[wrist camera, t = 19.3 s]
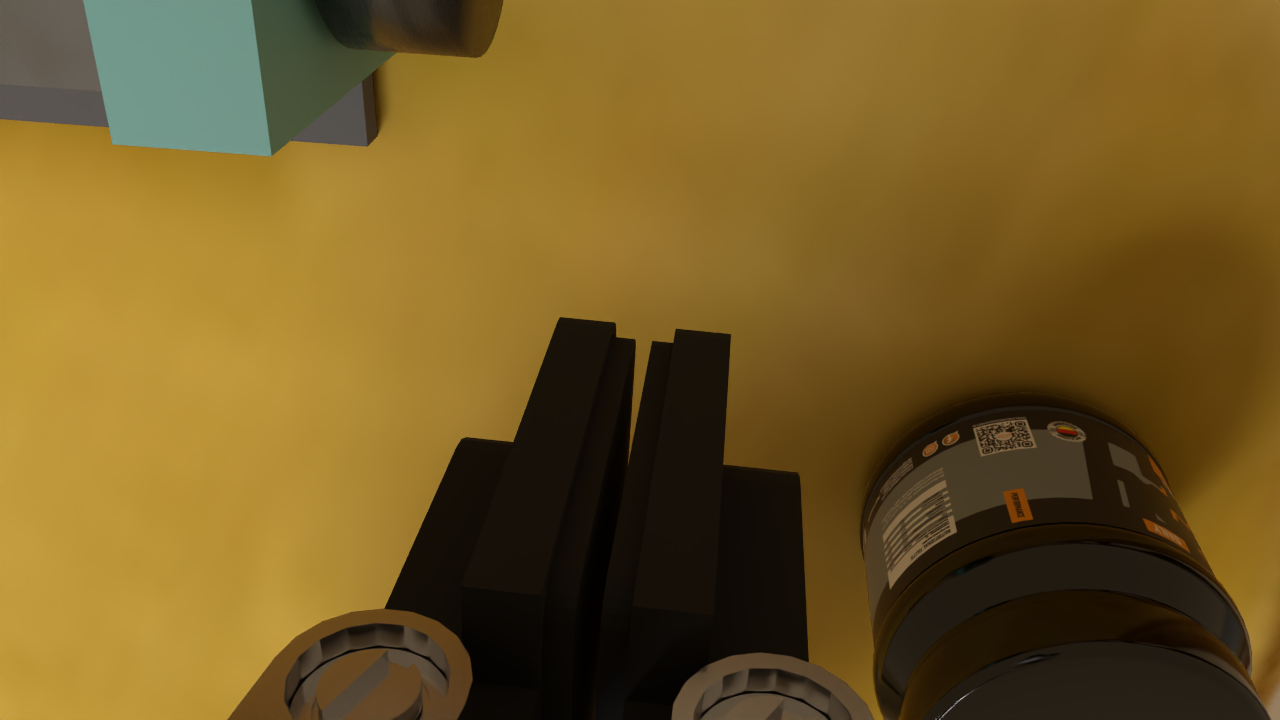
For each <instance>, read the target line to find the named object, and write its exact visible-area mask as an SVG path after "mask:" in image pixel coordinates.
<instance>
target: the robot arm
mask: <svg viewBox="0 0 1280 720" xmlns="http://www.w3.org/2000/svg"><path fill="white" fill-rule="evenodd" d="M730 342H731V334H723V333H713V332H703V331H693V330H683V329H676V331H675V337H674V343H667V342H657V341H652V346H651V351H650V356H649V361H648V366H647V371H646V377H645V382H644V387H643V392H642V397H641V402H640V408H639V413H638V418H637V423H636V428H635V433H634V439H633V444H632V449H631V454H630V459H629V464H628V457H629V442H630V427H631V412H632V396H633V381H634V366H635V349H636V341H635V339H628V338H618V337H616V324H615V323H613V322H603V321H593V320H583V319H573V318H563V317H560V318H559V320H558V322H557V325H556V327H555V330H554V333H553V336H552V338H551V341H550V344H549V346H548V349H547V352H546V355H545V357H544V360H543V363H542V366H541V368H540V371H539V374H538V376H537V379H536V382H535V385H534V387H533V390H532V393H531V396H530V398H529V401H528V404H527V406H526V409H525V412H524V415H523V417H522V420H521V423H520V426H519V428H518V431H517V434H516V436H515V439H514V442H506V441H497V440H487V439H478V438H469V437H465V438H463V439H461V441H460V442H459V444H458V446H457V447H456V449H455V452H454V454H453V456H452V458H451V461H450V463H449V465H448V467H447V470H446V472H445V474H444V476H443V479H442V481H441V483H440V485H439V488H438V490H437V492H436V494H435V497H434V499H433V501H432V503H431V505H430V508H429V510H428V512H427V514H426V517H425V519H424V521H423V523H422V526H421V528H420V530H419V532H418V535H417V537H416V539H415V541H414V544H413V546H412V548H411V550H410V553H409V555H408V557H407V559H406V562H405V564H404V566H403V568H402V571H401V573H400V575H399V577H398V580H397V582H396V584H395V586H394V588H393V591H392V593H391V595H390V597H389V600H388V602H387V604H386V606H385V609H375V610H366V611H356V612H350V613H347V614H344V615H341V616H338V617H335V618H332V619H329V620H325V621H322V622H321V623H319V624H317V625H315V626H314V627H312V628H310V629H309V630H307V631H305V632H303V633H302V634H300V635H298V636H296V637H295V638H294V639H293V640H292V641H291V642H290V643H289V644H288V645H287V646H286V647H285V648H284V649H283V650H282V651H281V652H280V653H279V654H278V655H277V656H276V657H275V658H274V659H273V661H272V662H271V663H270V665H269V666H268V667H267V668H266V670H265V671H264V672H263V674H262V675H261V676H260V678H259V679H258V680H257V682H256V683H255V684H254V685H253V687H252V688H251V689H250V691H249V692H248V693H247V695H246V696H245V697H244V699H243V700H242V701H241V702H240V704H239V705H238V706H237V708H236V709H235V710H234V712H233V713H232V714H231V716H230V717H229V718H228V719H227V720H874V718H873V716H872V714H871V712H870V710H869V708H868V706H867V704H866V703H865V702H864V701H863V700H862V699H861V698H860V697H859V696H858V695H857V694H856V693H855V692H854V691H853V690H852V689H851V687H850V686H849V685H848V684H847V683H845V682H844V681H842V680H841V679H839V678H837V677H836V676H834V675H833V674H831V673H830V672H828V671H826V670H825V669H823V668H822V667H820V666H817V665H814V664H811V663H809V658H808V637H807V615H806V594H805V572H804V551H803V529H802V507H801V486H800V476H799V474H798V473H796V472H787V471H778V470H768V469H759V468H750V467H740V466H731V465H723V457H724V441H725V424H726V408H727V392H728V375H729V359H730Z"/></svg>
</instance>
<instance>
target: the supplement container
mask: <svg viewBox="0 0 1280 720" xmlns="http://www.w3.org/2000/svg"><path fill="white" fill-rule="evenodd" d="M859 534H860V545H861V550H862V555H863V559H864V562H865V569H866V578H867V587H868V596H869V605H870V614H871V623H872V632H873V641H874V654H873V681H874V690H875V695H876V699H877V703H878V707H879V709H880V712H881V714H882V717H883V719H884V720H1271V718H1270V716H1269V714H1268V712H1267V710H1266V708H1265V706H1264V704H1263V702H1262V700H1261V698H1260V696H1259V694H1258V692H1257V690H1256V688H1255V686H1254V684H1253V682H1252V680H1251V673H1252V651H1251V645H1250V639H1249V635H1248V632H1247V629H1246V626H1245V623H1244V620H1243V618H1242V616H1241V614H1240V612H1239V610H1238V609H1237V607H1236V605H1235V603H1234V601H1233V599H1232V598H1231V596H1230V595H1229V594H1228V592H1227V591H1226V589H1225V588H1224V587H1223V585H1222V584H1221V583H1220V582H1219V581H1218V580H1217V579H1216V577H1215V575H1214V573H1213V572H1212V570H1211V568H1210V566H1209V564H1208V562H1207V560H1206V558H1205V556H1204V554H1203V552H1202V550H1201V548H1200V547H1199V545H1198V543H1197V541H1196V539H1195V537H1194V535H1193V533H1192V531H1191V529H1190V527H1189V525H1188V523H1187V522H1186V520H1185V518H1184V516H1183V514H1182V512H1181V510H1180V508H1179V506H1178V504H1177V502H1176V500H1175V498H1174V496H1173V495H1172V492H1171V489H1170V486H1169V483H1168V480H1167V477H1166V475H1165V473H1164V472H1163V470H1162V468H1161V466H1160V464H1159V462H1158V460H1157V459H1156V457H1155V456H1154V454H1153V453H1152V451H1151V450H1150V449H1149V447H1148V446H1147V445H1146V444H1145V443H1144V442H1143V441H1142V439H1141V438H1140V437H1139V436H1138V435H1137V434H1136V433H1135V432H1133V431H1132V430H1131V429H1130V428H1129V427H1128V426H1126V425H1125V424H1124V423H1122V422H1121V421H1119V420H1118V419H1116V418H1115V417H1113V416H1112V415H1110V414H1108V413H1106V412H1104V411H1102V410H1100V409H1098V408H1097V407H1094V406H1092V405H1089V404H1086V403H1084V402H1081V401H1078V400H1074V399H1071V398H1067V397H1063V396H1058V395H1052V394H1046V393H1034V392H1013V393H1001V394H994V395H988V396H982V397H978V398H975V399H971V400H967V401H964V402H961V403H958V404H955V405H953V406H950V407H948V408H946V409H943V410H941V411H939V412H937V413H935V414H933V415H932V416H930V417H928V418H926V419H924V420H923V421H921V422H920V423H918V424H917V425H916V426H914V427H913V428H911V429H910V430H909V431H908V432H906V433H905V434H904V435H903V436H902V437H901V438H899V439H898V441H897V442H896V443H895V444H894V445H893V446H892V447H891V448H890V449H889V450H888V451H887V453H886V454H885V455H884V456H883V458H882V459H881V460H880V462H879V463H878V465H877V467H876V468H875V470H874V472H873V473H872V476H871V478H870V480H869V482H868V484H867V487H866V490H865V493H864V496H863V499H862V504H861V510H860V518H859Z"/></svg>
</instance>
